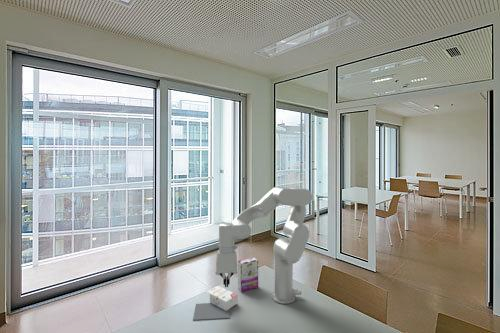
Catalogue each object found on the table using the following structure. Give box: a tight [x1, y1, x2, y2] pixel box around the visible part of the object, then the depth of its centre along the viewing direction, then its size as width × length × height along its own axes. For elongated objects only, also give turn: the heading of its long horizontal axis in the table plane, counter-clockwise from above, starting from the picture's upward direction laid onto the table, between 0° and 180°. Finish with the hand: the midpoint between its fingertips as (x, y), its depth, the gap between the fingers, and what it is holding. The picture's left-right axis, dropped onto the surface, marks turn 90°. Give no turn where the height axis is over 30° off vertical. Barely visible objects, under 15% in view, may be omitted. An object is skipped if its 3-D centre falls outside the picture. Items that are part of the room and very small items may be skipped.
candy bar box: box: [237, 256, 259, 293], centre depth 147 cm, size 11×5×16 cm, turn 117°
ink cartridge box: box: [206, 285, 238, 311], centre depth 132 cm, size 9×5×15 cm
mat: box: [192, 302, 231, 322], centre depth 124 cm, size 17×13×1 cm
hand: (226, 285), depth 125 cm, fingers closed
